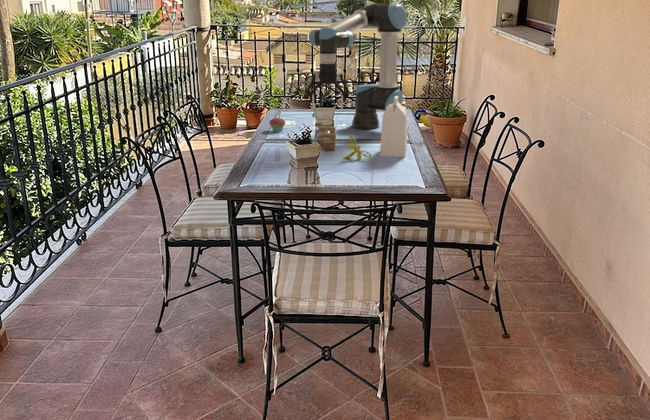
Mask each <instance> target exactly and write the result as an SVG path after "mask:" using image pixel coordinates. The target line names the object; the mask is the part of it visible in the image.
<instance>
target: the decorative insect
mask: <svg viewBox="0 0 650 420" xmlns="http://www.w3.org/2000/svg"><path fill="white" fill-rule="evenodd" d="M349 141H350V144H348V145H347V149H348V150H353V151H351V152H350V153H349V154H348V155H345V156H344V157H343V160H346V159H349V158H352V157H353V156H355V155H356V158H357V159H358V160H361V159H362V156H363V157H366V158H370V157H372V154H371V152H369V151H366V150H360V149H361V147H360V146H359V145H358V146H357V140H356V138H355V136H354V135H353V134H350V135H349Z"/></svg>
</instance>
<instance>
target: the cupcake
mask: <svg viewBox="0 0 650 420" xmlns="http://www.w3.org/2000/svg"><path fill="white" fill-rule="evenodd" d="M281 113H282V110H281V109H280V110H279V114H278V117H274V118H272V119H271V120H269V122H268V123H269V126H271V128H272V129H271V130H272V131H273V133H281V132H282V131H283V129H284V126H285V125H286V121H285V120H284V119H282V118H281Z"/></svg>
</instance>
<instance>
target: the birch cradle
mask: <svg viewBox="0 0 650 420" xmlns="http://www.w3.org/2000/svg"><path fill="white" fill-rule="evenodd" d="M318 135H319V136H318V143H320V138H330V139H331V140H332V141H333V142H334V143H335V144H336V127H335V126H319V134H318Z"/></svg>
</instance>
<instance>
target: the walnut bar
mask: <svg viewBox="0 0 650 420" xmlns="http://www.w3.org/2000/svg"><path fill="white" fill-rule="evenodd" d="M320 144H321V146H320V147H321V148H322V149H323V150H324V151H325V152H332V151H333V152H335V145H336V142H335V143H334V142H333V141H332V140H331V139H330V138H320ZM320 144H319V145H320Z"/></svg>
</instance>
